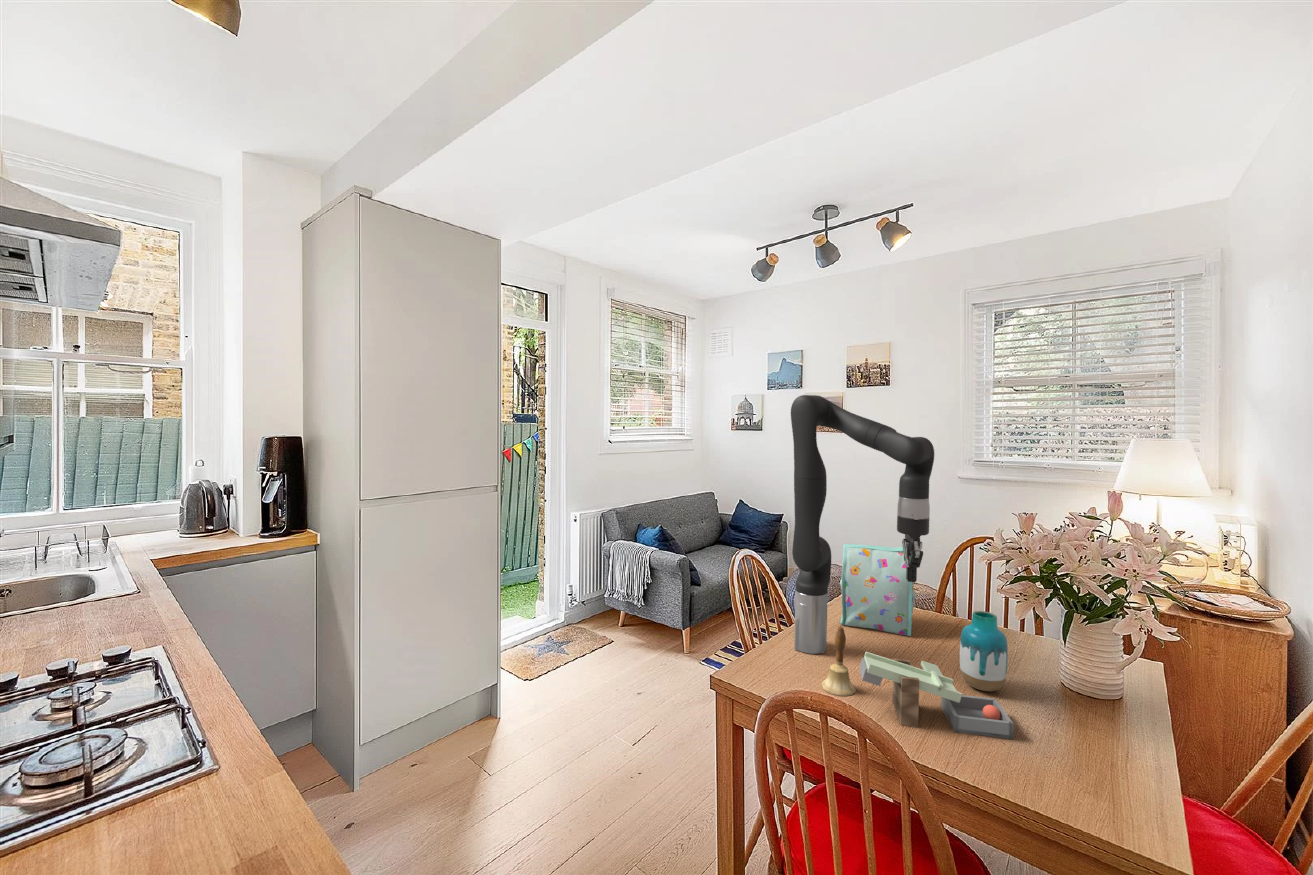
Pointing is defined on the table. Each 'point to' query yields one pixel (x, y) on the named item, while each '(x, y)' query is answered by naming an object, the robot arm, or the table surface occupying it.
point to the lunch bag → (876, 589)
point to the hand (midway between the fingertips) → (911, 581)
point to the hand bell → (839, 670)
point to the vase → (983, 653)
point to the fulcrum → (906, 698)
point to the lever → (908, 675)
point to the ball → (991, 712)
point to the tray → (976, 717)
